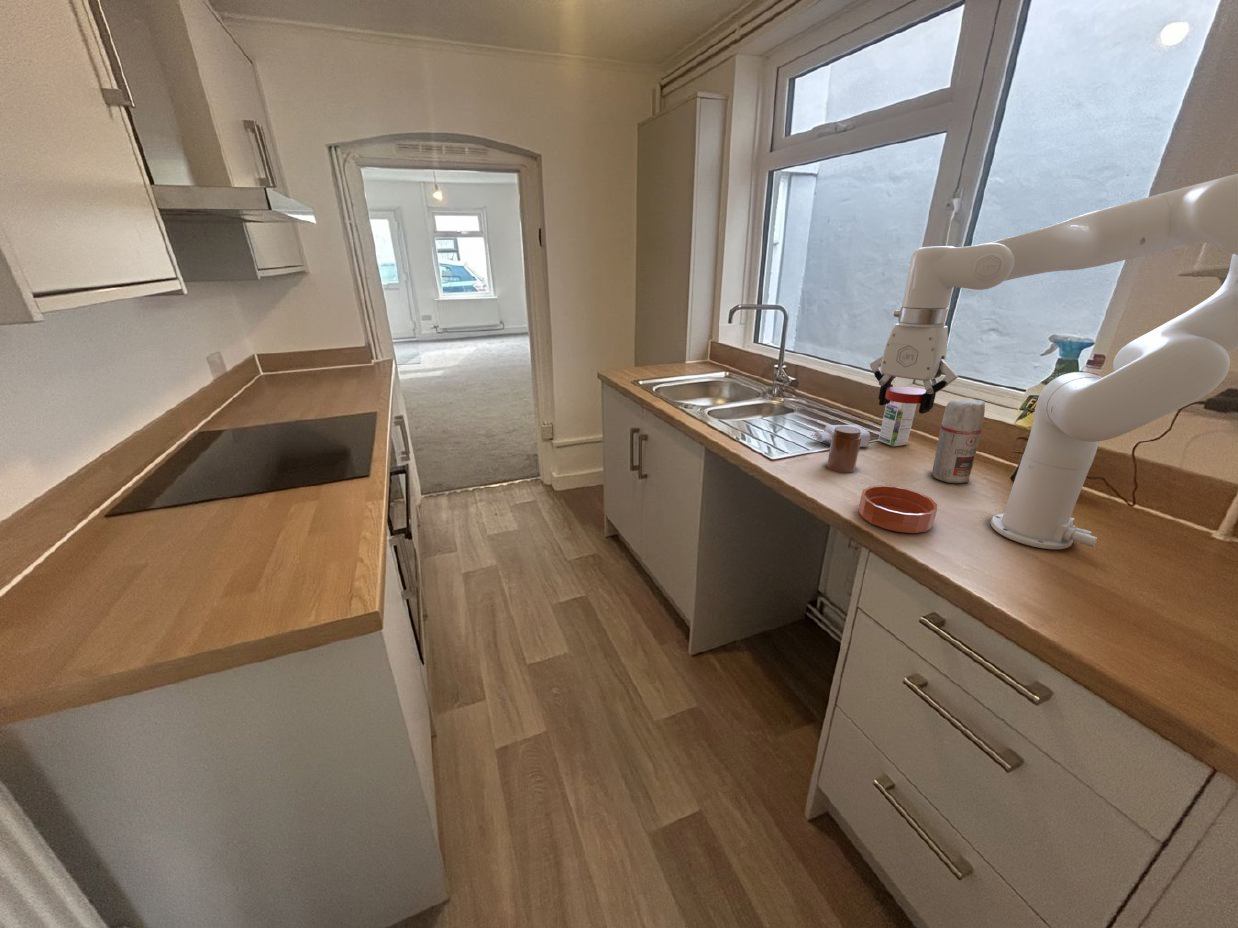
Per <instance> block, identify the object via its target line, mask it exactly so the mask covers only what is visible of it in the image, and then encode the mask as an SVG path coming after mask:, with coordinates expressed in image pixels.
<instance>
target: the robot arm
mask: <svg viewBox="0 0 1238 928" xmlns="http://www.w3.org/2000/svg"><path fill="white" fill-rule="evenodd" d="M1200 244H1212V245H1214V246H1217V247H1219V248H1221V249H1223V250H1225V251H1227V252H1229V253H1231V254H1232V255H1231V257H1230V265H1229V269H1228V272H1227V275H1226V278H1225V280H1224V282H1223V283H1222V285H1221V286H1220V287H1219V288H1218V290H1216V291H1215V292H1214V293H1213V294H1212V295H1211V296H1209V297H1208V298H1206V299H1205V300H1203V301H1202V302H1200V303H1199V304H1197V305H1195V306H1193V307H1192V308H1191V309H1189V310H1187V311H1185V312H1183V313H1182V314H1180V315H1178V316H1176V317H1174V318H1172V319H1170V320H1168V321H1167V322H1165V323H1163V324H1161V325H1160V326H1158V327H1156V328H1154V329H1152V330H1150V331H1149V332H1147V333H1145V334H1143V335H1140V336H1138V337H1137V338H1135V339H1133V340H1131V341H1130V342H1128V343H1127V344H1125V345H1124V346H1123V347H1121V349H1120V350H1119V351H1118V352H1117V353H1116V355H1115V356H1114V359H1113V362H1112V366H1113V367H1112V368H1113V372H1111V373H1109V374H1107V375H1105V376H1103V377H1102V376H1101V375H1098V374H1096V373H1095V374H1094V373H1091V372H1086V371H1074V372H1068V373H1065V374H1062V375H1059V376H1057V377H1055V378H1053V379H1052V380H1051V381H1049V382H1048V383H1047V384H1046V385H1045V386H1044V387H1043V388H1042V390H1041V391H1040V393H1039V396H1038V398H1037V401H1036V404H1035V409H1034V413H1033V419H1032V425H1031V429H1030V433H1029V437H1028V440H1027V443H1026V446H1025V449H1024V452H1023V454H1022V457H1021V460H1020V462H1019V466H1018V468H1017V472H1016V474H1015V478H1014V481H1013V485H1012V487H1011V490H1010V493H1009V496H1008V499H1007V502H1006V506H1005V508H1004V510H1003V512H1002V513H997V514H995V515H993V516H992V518H991V520H990V526H991V527H992V529H993V530H994V531H996V532H997V533H998V534H999V535H1001V536H1003V537H1005V538H1007V539H1008V540H1012V541H1014V542H1016V543H1019V544H1023V545H1026V546H1029V547H1034V548H1039V549H1046V550H1064V549H1067V548H1070V547H1071V546H1072V544H1073V542H1077V543H1079V544H1082V545H1085V546H1088V547H1092V548H1094V547H1095V545H1096V543H1097V541H1098V537H1097V536H1094V535H1092V533H1093V532H1092V531H1090V530H1087V529H1084V528H1083V529H1082V528H1079V527H1076V524H1075V525H1074V521H1075V518H1074V517H1072V514H1073V512H1074V509H1075V508H1076V504H1077V502H1078V499H1079V497H1080V494H1081V492H1082V490H1083V486H1084V484H1085V482H1086V479H1087V477H1088V474H1089V471H1090V469H1091V467H1092V465H1093V462H1094V460H1095V457H1096V454H1097V451H1098V446H1099V444H1100V442H1105V441H1108V440H1113V439H1114V438H1118V437H1121V436H1123V435H1125V434H1127V433H1130V432H1132V431H1135V430H1137V429H1139V428H1141V427H1143V426H1146V425H1148V424H1150V423H1152V422H1154V421H1156V420H1158V419H1161V418H1163V417H1165V416H1167V415H1169V414H1171V413H1173V412H1176V411H1177V410H1180V409H1182V408H1184V407H1186V406H1188V405H1190V404H1193V403H1195V402H1197V401H1198V400H1200V399H1203V398H1204V397H1205V396H1207V395H1208V394H1210V393H1211V392H1212V391H1214V390H1215V389H1216V388H1217V387H1219V385H1220V384H1222V382H1223V381H1224V380H1225V379H1226V377H1227V375H1228V373H1229V370H1230V368H1231V367H1230V366H1231V359H1230V358H1231V357H1230V354H1232V353H1234V352H1235V351H1238V173H1234V174H1229V175H1227V176H1222V177H1220V178H1216V179H1215V178H1214V179H1211V180H1208V181H1204V182H1201V183H1196V184H1192V185H1188V186H1184V187H1180V188H1177V189H1173V190H1169V191H1167V192H1163V193H1158V194H1155V195H1151V196H1147V197H1144V198H1140V199H1136V200H1132V201H1128V202H1125V203H1121V204H1116V205H1113V206H1109V207H1105V208H1101V209H1097V210H1094V211H1091V212H1087V213H1084V214H1081V215H1077V216H1075V217H1072V218H1069V219H1066V220H1064V221H1060V222H1058V223H1055V224H1052V225H1049V226H1046V227H1042V228H1039V229H1036V230H1031V231H1028V232H1025V233H1020V234H1018V235H1013V236H1009V237H1005V238H1001V239H998V240H993V241H990V242H987V243H986V242H985V243H981V244H975V245H967V246H958V247H956V246H953V245H943V246H942V245H939V246H938V245H937V246H922V247H918V248H917V249H915V250H914V251H913V253H912V254H911V258H910V262H909V268H908V273H907V279H906V283H905V284H906V285H905V289H904V293H903V294H904V295H903V298H902V303H901V307H900V309H895V310H894V311H893V318H898V319H897V321H898V323H894V324H893V326H892V328H891V330H890V333H889V334H888V337H887V341H886V344H885V346H884V347H885V348H884V351H883V355H882V356H881V357H878V358H877V359H876V360H874V361H872V362H871V363H870V364H869V367H870V369H871V371H872V372H873V373H874V374H873V375H874V377H875V379H876V380H877V382H878V385H879V386H880V389H879V394H878V400H879V402H878V405H879V406H886V404H888V403H890V400H887V399H886V398H885V394H886V389H887V388H888V387H893V386H894V384H892V382H893V381H894V380H895V379H896V378H901V379H906V380H907V379H908V380H915V381H920V382H921V381H922V383H923V385H924V390H926V393H924V394H923V395H922V399H921V403H919V408H918V413H919V414H921V415H924V414H925V413H926V414H927V413H929V412H930V411H931V410H932V409H933V407H934V404H935V400H936V394H937V393H938V392H940V391H941V390H943V389H945V388H946V387H947V386H949V385H950V384H951V383H953V382H954V381H955V380H956V379H958V378H959V373H958V372H957V371H956V370H955V369H954V368H953V367H952V366H951V365H950V364H949V363H948V362H947V361H946V360H947V359H946V358H947V351H948V350H947V349H948V341H949V340H948V339H949V338H948V337H949V336H948V335H949V330H948V329H949V327H948V325H945V323H946V318H947V315H948V311H949V305H950V302H951V296H952V292H953V288H959V289H968V290H977V291H981V290H983V291H984V290H989V289H992V288H994V287H997V286H998V285H1001V284H1002V283H1003V282H1006V281H1011V280H1015V279H1020V278H1024V277H1028V276H1034V275H1040V274H1046V273H1052V272H1064V271H1065V272H1066V271H1067V272H1068V271H1078V270H1084V269H1091V268H1096V267H1101V266H1105V265H1109V264H1113V263H1118V262H1122V261H1127V260H1133V259H1135V258H1136V259H1137V258H1140V257H1146V256H1150V255H1154V254H1160V253H1164V252H1168V251H1172V250H1178V249H1181V248H1187V247H1190V246H1197V245H1200ZM943 374H944V375H945V377H944V378H943V379H941V380H940V381H938V378H939V377H941V376H942V375H943Z"/></svg>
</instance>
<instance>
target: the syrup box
mask: <svg viewBox="0 0 1238 928" xmlns="http://www.w3.org/2000/svg"><path fill="white" fill-rule="evenodd" d="M917 405H918V404H909V403H899V402H894V401H890V403H888V404H885V408H884V413H883V418H882V422H881V427H880V431H879V435H878V442H880V443H883V444H886V445H888V446H890V447H900V446H906V445H908V443H909V438H910V434H911V430H912V426H913V422H914V419H915V413H916V410H917Z"/></svg>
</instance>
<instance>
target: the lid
mask: <svg viewBox="0 0 1238 928" xmlns="http://www.w3.org/2000/svg"><path fill="white" fill-rule="evenodd" d="M924 393H926V389H925V388H924V389H923V388H920V387H915V386H907V385H906V386H902V385H895V386H894V385H893V387H888V388H887V389H886V394H885V398H886V399H887V400H890V401H894V402H899V403H909V404H917V405H919V404H920V403H921V399H922V395H923V394H924Z"/></svg>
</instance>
